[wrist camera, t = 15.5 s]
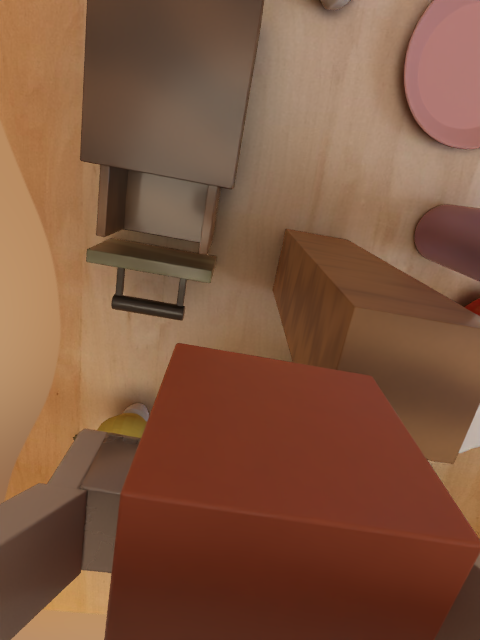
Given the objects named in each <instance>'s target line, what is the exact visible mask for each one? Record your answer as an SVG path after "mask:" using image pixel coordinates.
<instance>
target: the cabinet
mask: <svg viewBox="0 0 480 640" xmlns="http://www.w3.org/2000/svg"><path fill="white" fill-rule="evenodd" d="M263 5H264V0H87V16H86V39H85V62H84V85H83V107H82V130H81V153H80V160H81V161H84V162H89V163H95V164H100V165H105V166H111V167H116V168H121V169H127V170H132V171H137V172H143V173H148V174H153V175H159V176H164V177H169V178H175V179H180V180H185V181H191V182H196V183H201V184H206V185H212V186H217V187H222V188H228V189H233V188H234V185H235V179H236V173H237V167H238V161H239V155H240V149H241V143H242V137H243V131H244V124H245V118H246V112H247V106H248V100H249V94H250V88H251V82H252V76H253V70H254V64H255V58H256V52H257V46H258V40H259V34H260V28H261V21H262V13H263Z"/></svg>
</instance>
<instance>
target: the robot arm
mask: <svg viewBox="0 0 480 640" xmlns="http://www.w3.org/2000/svg"><path fill="white" fill-rule="evenodd" d="M140 439H141V438H138V437H133V436H127V435H121V434H116V433H108V432H103V431H97V430H91V429H83V430H82V431H81V432H79V434H78V435H77V437H76V439H75V440H74V442H73V443H72V445H71V447H70V448H69V450H68V451H67V453H66V455H65V456H64V458H63V459H62V461H61V463H60V464H59V466H58V467H57V469H56V471H55V472H54V474H53V475H52V477H51V479H50V480H49V482H48V483H47V484H41V483H38V484H37V485H35V486H33V487H31V488H29V489H27V490H25V491H23V492H22V493H20V494H18V495H16V496H14V497H12V498H10V499H9V500H7V501H5V502H3V503H1V504H0V640H11V639H12V638H13V637H14V636H15V635H16V634H17V633H18V632H19V631H20V630H21V629H22V628H23V627H24V626H25V625H26V624H27V623H29V622H30V621H31V619H33V618H34V617H35V616H36V615H37V614H38V613H39V612H40V611H41V610H42V609H43V608H44V607H45V606H46V605H47V604H48V603H50V602H51V601H52V600H53V599H54V598H55V597H56V596H57V595H58V594H59V593H60V592H61V591H62V590H63V589H64V588H65V587H66V586H67V585H68V584H70V583H71V582H72V581H73V580H74V579H75V578H76V577H77V576H78V575H79V574H80V573H81V570H88V571H98V572H108V573H112V565H113V556H114V547H115V538H116V529H117V519H118V510H119V501H120V493H121V490H122V487H123V485H124V482H125V479H126V477H127V474H128V471H129V469H130V466H131V463H132V461H133V458H134V455H135V453H136V450H137V447H138V445H139V442H140ZM435 640H480V554H479V556H478V558H477V560H476V562H475V563H474V565H473V567H472V569H471V571H470V573H469V575H468V577H467V579H466V581H465V583H464V585H463V586H462V588H461V590H460V592H459V594H458V596H457V598H456V600H455V602H454V604H453V606H452V608H451V609H450V611H449V613H448V615H447V617H446V619H445V621H444V623H443V625H442V627H441V629H440V630H439V632H438V634H437V636H436V638H435Z"/></svg>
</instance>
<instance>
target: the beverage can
mask: <svg viewBox="0 0 480 640" xmlns="http://www.w3.org/2000/svg"><path fill="white" fill-rule="evenodd" d="M415 244H416V247H417V249H418V251H419V252H420V254H421V255H422V256H423V257H425V258H427V259H429V260H431V261H433V262H435V263H438V264H440V265H442V266H445V267H447V268H449V269H452V270H454V271H456V272H459V273H461V274H463V275H466V276H468V277H470V278H472V279H475V280H477V281H479V282H480V208H473V207H465V206H457V205H441V206H437V207H435V208H433V209H431V210H430V211H428V212H427V213H426V214H425V215H424V216H423V217H422V218H421V220H420V221H419V223H418V225H417V228H416V231H415Z"/></svg>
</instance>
